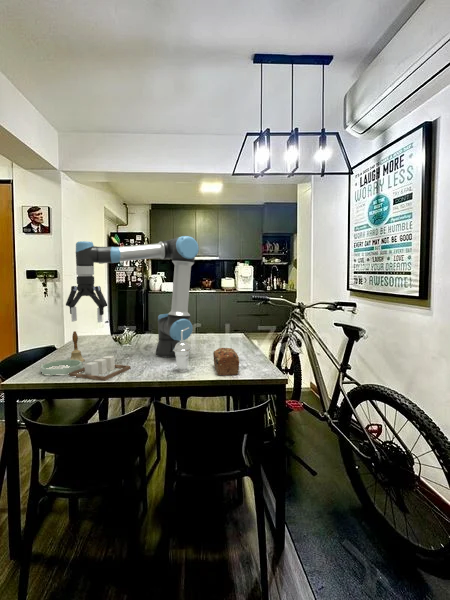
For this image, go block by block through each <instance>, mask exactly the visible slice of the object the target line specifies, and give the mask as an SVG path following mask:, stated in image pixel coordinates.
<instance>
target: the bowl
mask: <svg viewBox="0 0 450 600" xmlns="http://www.w3.org/2000/svg"><path fill="white" fill-rule="evenodd" d="M59 365H65V366H66V365H68V366H70V367H69V368H63V369H46V368H49V367H52V366H59ZM39 367H40V368H39V369H40V373H41V372H42V373H43V374H50V375H56V374H68V373H71V372H73V371H76V370H79V369H82V368H84V367H83V362H81V361H79V360H70V359H60V360H54V361H50V362H46V363H43V364H42V365H41V366H39Z"/></svg>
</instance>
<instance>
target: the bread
mask: <svg viewBox="0 0 450 600" xmlns="http://www.w3.org/2000/svg"><path fill="white" fill-rule="evenodd" d="M212 356H213V367H214V369H215V372H216V374H217V376H236V375H239V370H240V356H239V355H238V353H237V352H236V351H235V349H234V348H232V347H219V348H217V349H216V350H214V351H213V354H212Z"/></svg>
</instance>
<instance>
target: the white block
mask: <svg viewBox="0 0 450 600" xmlns="http://www.w3.org/2000/svg"><path fill="white" fill-rule="evenodd" d="M93 362H97V363H98V372H99V375H103V373H104V374H105V372H106V373H107V372H108V370H107V359H103V358H97V359H95V360H94V361H93Z"/></svg>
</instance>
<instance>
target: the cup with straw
mask: <svg viewBox="0 0 450 600" xmlns="http://www.w3.org/2000/svg"><path fill="white" fill-rule="evenodd" d="M187 329H189V327H188V328H185V329H183V330H182V331H181V341H180V342H178V343H177V344H176V345H175V348H173V351H174V352H175V362H176V369H177V372H180V373H184V372H187V371H188V368H189V367H188V366H189V357H190V351H192V348H191V347H190V345H189V343H188V342H186V341H185V340H183V331H185V330H187Z"/></svg>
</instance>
